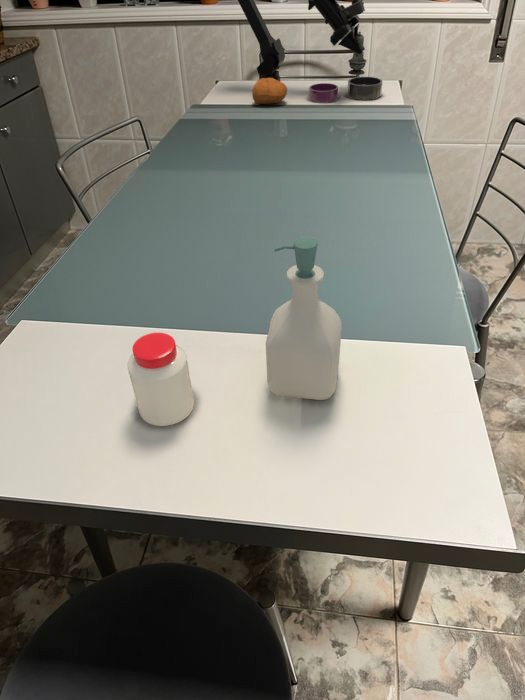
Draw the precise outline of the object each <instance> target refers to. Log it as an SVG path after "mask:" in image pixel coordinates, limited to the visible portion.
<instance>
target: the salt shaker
mask: <svg viewBox="0 0 525 700" xmlns="http://www.w3.org/2000/svg"><path fill="white" fill-rule="evenodd" d="M358 33H359V34H358V35H356V36H355V39H356V40H357V42H358V44H359V46H360V48H361V50H362V53H361V54H358V53H356V52H354V51H352V53H353V54H352V58H350V59H348V65H349V67H350V70H349V71H348V74H349V75H351V76H362V75H365V74H366V73H365V71H364V70H363V69H364V68H365V66H366V63H367V62H368V60H367V59H364V51H363V49H364V48H365V46H364V42H365V36H364V35H363V34H362V32H361V31H358ZM363 46H364V47H363Z"/></svg>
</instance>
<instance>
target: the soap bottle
mask: <svg viewBox="0 0 525 700" xmlns="http://www.w3.org/2000/svg"><path fill="white" fill-rule="evenodd" d="M318 244H319V243H318V240H317V239H316V238H314V237H311V236H301V237H297V238H296V239H295V240H294V241H293V244H283V245H281V246H277V247H275V248H274V249H273V250H274V252H279V251H282V250H294V255H295V256H294V257H295V264H296V265H293V266H291V267H289V268H288V270H287V271H286V280H287V281H288V282H289V283H290V284H291V298H290V300H287V301H286V302H284V303H283V304H281V305H280V306H278V307H277V308H276V309H275V311H274V312H273V315H272V317H271V319H270V322H269V329H268V332H267V335H266V340H265V358H266V377H267V378H266V380H267V385H268V386H269V389H270V392H271V393H272V394H274V395H277V396H279V397H289V398H298V399H305V400H317V401H323V400H329V398H330V397H331V396H333V394H334V393H335V391H336V388H337V383H338V373H339V367H340V359H341V358H340V356H341V342H342V341H341V340H342V326H343V323H342V320H341V317H340V316H339V314H338V313H337V311H336V310H335V309H334V308H332V307H331V306H330V305H328V304H327V303H325V302H324V301H321V300H320V298H319V284H320V283H321V282H322V281H323V280H324V278H325V273H324V270H323V269H322V268H321V267H320V266H318V265H315V263H316V256H317V250H318Z"/></svg>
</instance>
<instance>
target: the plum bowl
mask: <svg viewBox="0 0 525 700" xmlns="http://www.w3.org/2000/svg"><path fill="white" fill-rule="evenodd" d="M338 99H339V86H338V85H337V84H334V83H326V82H321V83H314V84H311V85H310V86H309V87H308V100H309V101H310V102H313V103H317V104H318V103H319V104H327V103H333V102H336V101H337V100H338Z"/></svg>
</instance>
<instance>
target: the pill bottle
mask: <svg viewBox="0 0 525 700" xmlns="http://www.w3.org/2000/svg"><path fill="white" fill-rule="evenodd" d="M131 351H132V354H131V355H130V357H129V358H128V361H127V371H128V375H129V378H130V383H131V387H132V390H133V394H134V398H135V402H136V406H137V411H138V413H139V416H140V417H141V419H142V420H143V421H144V422H145V423H148V424H150V425H152V426H157V427H167V426H172V425H175V424H178V423H180V422H182V421H183V420H185V419H186V418H187V417H189V415H190V414H191V413H192V412H193V409H194V407H195V400H194V394H193V393H194V391H193V388H192V387H193V386H192V381H191V376H190V375H191V374H190V369H189V362H188V357H187V354H186V351H185V350H184V349H183V348H182V347H180V346H179V345H178V344H176V340H175V338H174V337H173V336H172V335H170V334H168V333H164V332H151V333H147V334H143V335H142V336H140V337H139V338H137V339H136V340H135V342H134V343H133V344H132V350H131Z"/></svg>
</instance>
